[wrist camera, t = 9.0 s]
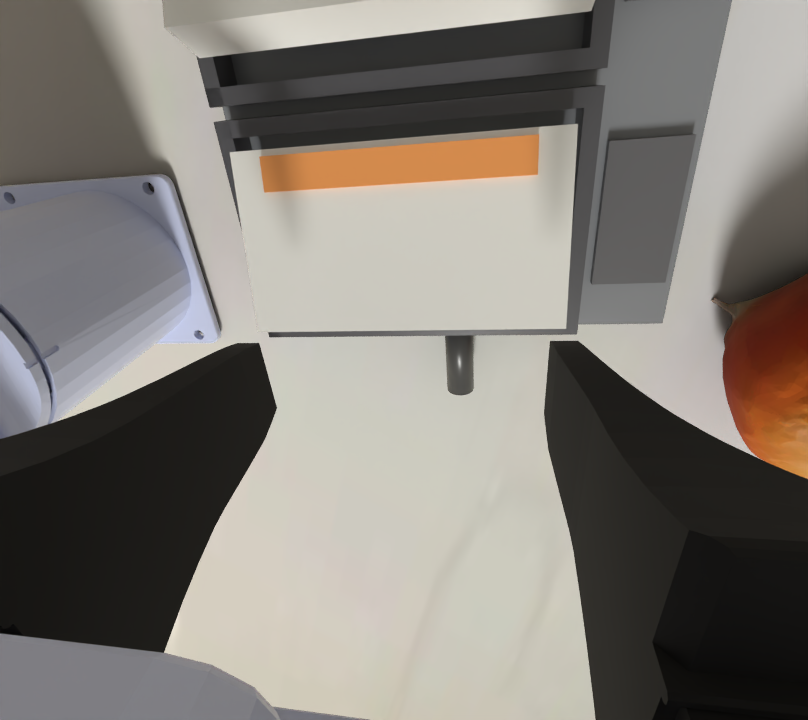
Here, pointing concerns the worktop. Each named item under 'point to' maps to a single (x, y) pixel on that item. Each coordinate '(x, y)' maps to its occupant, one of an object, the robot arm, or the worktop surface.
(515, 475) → the worktop surface
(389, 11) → the rocker middle
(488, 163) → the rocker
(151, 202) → the robot arm
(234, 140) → the rocker switch panel
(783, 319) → the fruit
